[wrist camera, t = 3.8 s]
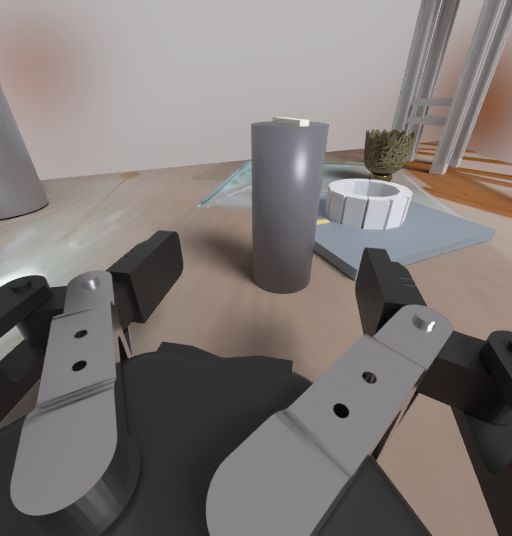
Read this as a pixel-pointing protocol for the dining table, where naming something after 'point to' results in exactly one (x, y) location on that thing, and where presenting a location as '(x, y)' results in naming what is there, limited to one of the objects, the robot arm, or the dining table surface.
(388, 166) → the cup
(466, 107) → the stool
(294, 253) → the grey cylinder with tab
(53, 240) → the dining table surface
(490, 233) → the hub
